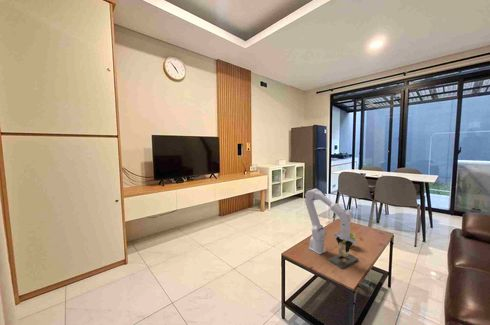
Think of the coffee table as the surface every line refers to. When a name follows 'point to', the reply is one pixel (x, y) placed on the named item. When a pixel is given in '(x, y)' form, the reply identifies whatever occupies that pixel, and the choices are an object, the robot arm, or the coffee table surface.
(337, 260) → the slotted plate
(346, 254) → the birch peg
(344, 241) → the plant pot
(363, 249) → the coffee table surface
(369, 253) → the coffee table surface
